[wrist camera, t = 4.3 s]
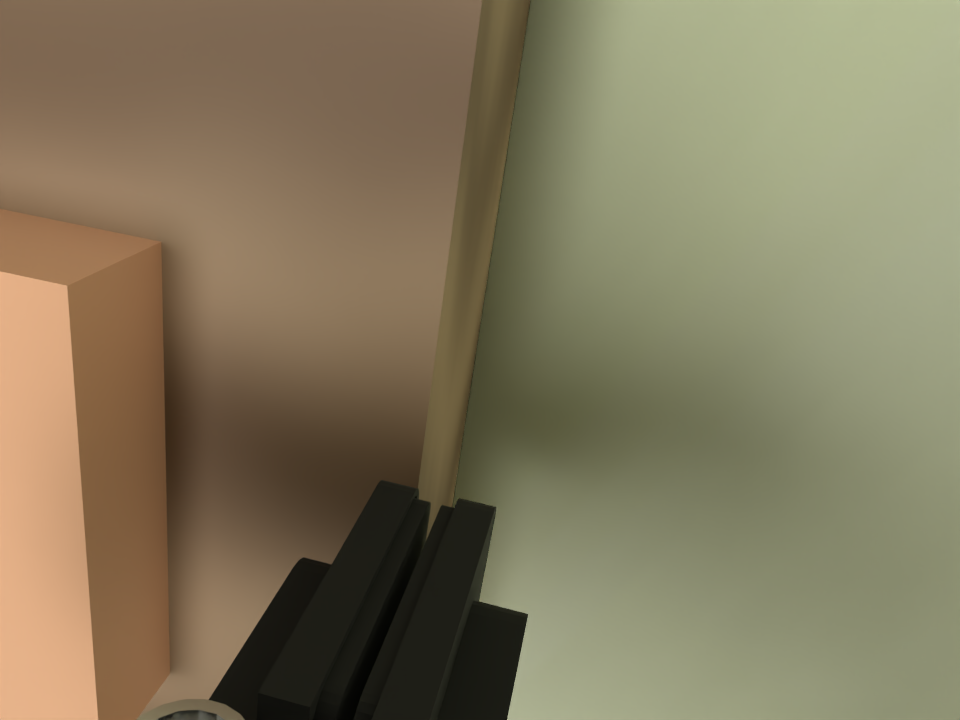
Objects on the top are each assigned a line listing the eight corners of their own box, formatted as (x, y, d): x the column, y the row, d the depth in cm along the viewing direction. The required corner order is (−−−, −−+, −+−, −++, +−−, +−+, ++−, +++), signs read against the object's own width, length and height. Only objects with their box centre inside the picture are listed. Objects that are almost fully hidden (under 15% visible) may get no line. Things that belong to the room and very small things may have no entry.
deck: (414, 747, 20) (361, 912, 16) (-168, 588, 22) (-332, 704, 18) (545, -94, 12) (500, -139, 9) (-360, -225, 14) (-706, -306, 11)
